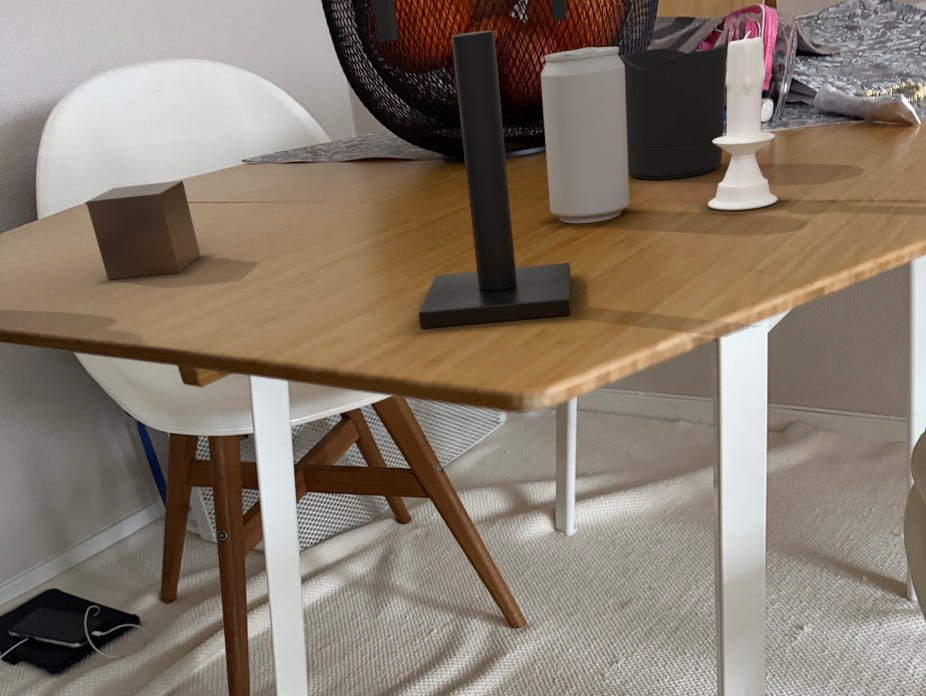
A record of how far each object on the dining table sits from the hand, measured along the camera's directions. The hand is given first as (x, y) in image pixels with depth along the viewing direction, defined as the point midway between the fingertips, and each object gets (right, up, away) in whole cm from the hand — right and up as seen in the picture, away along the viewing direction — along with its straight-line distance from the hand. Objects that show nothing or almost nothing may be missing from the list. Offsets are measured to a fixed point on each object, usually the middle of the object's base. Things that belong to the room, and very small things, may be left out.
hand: (473, 29), depth 61 cm
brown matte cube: (-27, -3, +29) cm, 40 cm away
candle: (+21, 0, +25) cm, 33 cm away
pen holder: (+19, +9, +41) cm, 46 cm away
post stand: (+2, -13, +8) cm, 15 cm away
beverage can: (+9, 0, +28) cm, 29 cm away
